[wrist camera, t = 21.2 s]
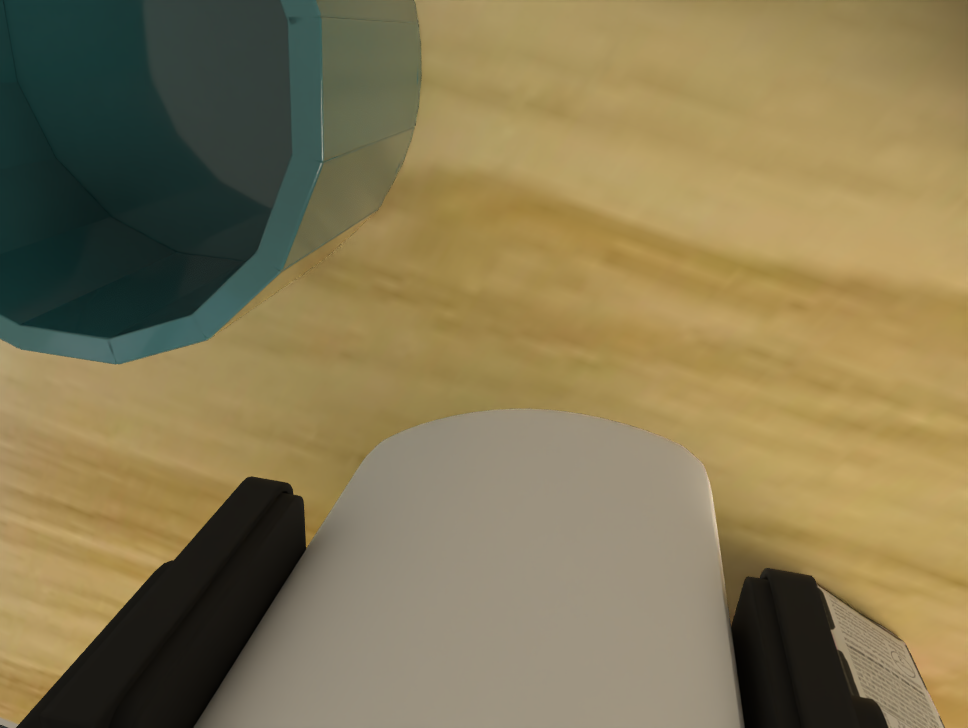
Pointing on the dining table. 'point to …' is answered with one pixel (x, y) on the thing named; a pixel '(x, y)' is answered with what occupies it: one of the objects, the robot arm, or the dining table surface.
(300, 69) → the canister
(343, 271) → the dining table surface
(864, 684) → the candy bar box
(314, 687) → the eye dropper bottle
